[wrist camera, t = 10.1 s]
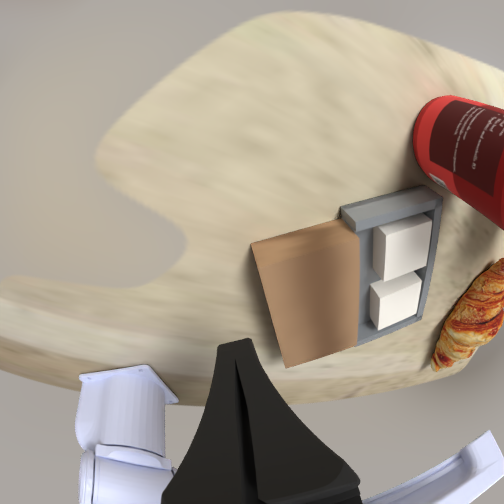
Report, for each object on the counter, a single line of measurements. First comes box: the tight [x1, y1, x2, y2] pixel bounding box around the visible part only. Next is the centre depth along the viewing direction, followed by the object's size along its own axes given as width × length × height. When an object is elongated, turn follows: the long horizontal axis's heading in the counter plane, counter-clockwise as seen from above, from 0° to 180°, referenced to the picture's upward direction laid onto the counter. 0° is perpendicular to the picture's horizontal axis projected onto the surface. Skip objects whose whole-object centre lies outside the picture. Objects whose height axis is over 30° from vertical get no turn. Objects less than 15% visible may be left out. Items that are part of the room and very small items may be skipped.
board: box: [251, 218, 360, 368], centre depth 23 cm, size 7×12×3 cm, turn 13°
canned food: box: [413, 95, 504, 230], centre depth 14 cm, size 8×8×11 cm
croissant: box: [431, 258, 504, 372], centre depth 31 cm, size 21×10×8 cm, turn 173°
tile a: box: [370, 271, 422, 330], centre depth 25 cm, size 4×4×2 cm
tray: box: [340, 185, 443, 347], centre depth 23 cm, size 8×14×2 cm, turn 13°
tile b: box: [373, 213, 432, 282], centre depth 22 cm, size 4×4×2 cm
